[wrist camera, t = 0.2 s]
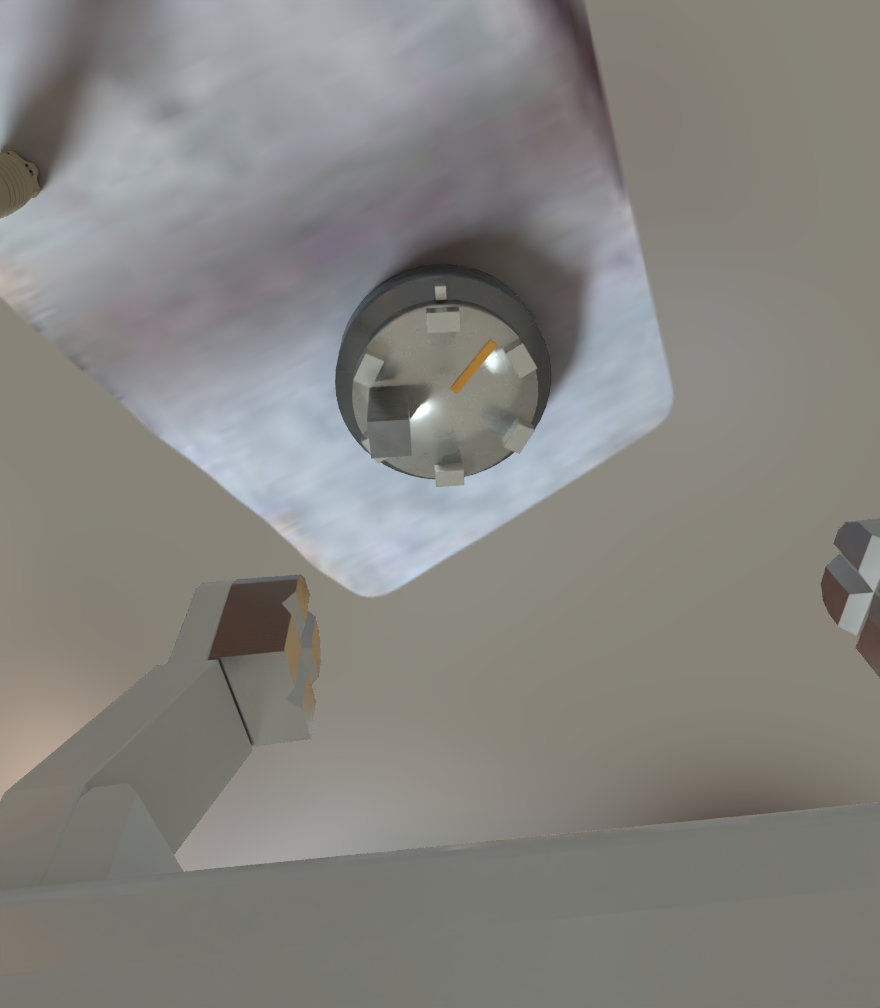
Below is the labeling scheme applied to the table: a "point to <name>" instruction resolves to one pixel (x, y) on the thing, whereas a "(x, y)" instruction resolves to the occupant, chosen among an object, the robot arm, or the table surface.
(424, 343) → the round clock
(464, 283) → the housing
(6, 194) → the handle
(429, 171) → the table surface
